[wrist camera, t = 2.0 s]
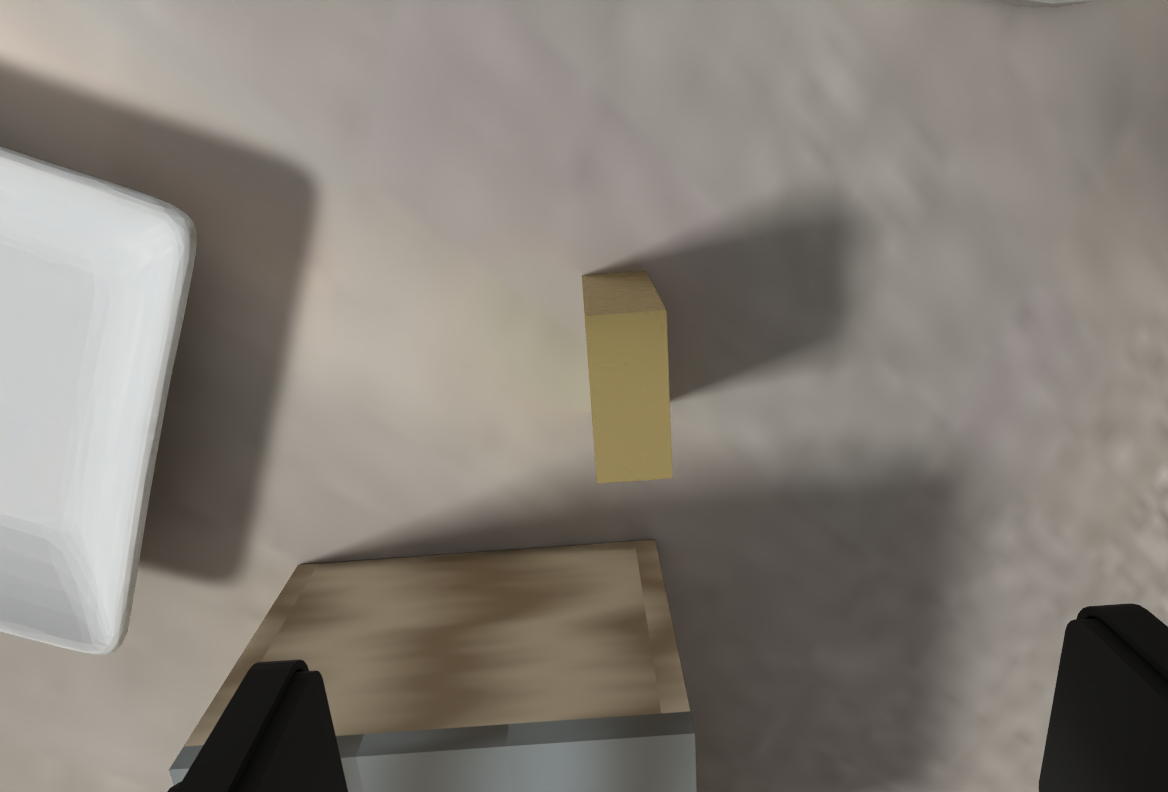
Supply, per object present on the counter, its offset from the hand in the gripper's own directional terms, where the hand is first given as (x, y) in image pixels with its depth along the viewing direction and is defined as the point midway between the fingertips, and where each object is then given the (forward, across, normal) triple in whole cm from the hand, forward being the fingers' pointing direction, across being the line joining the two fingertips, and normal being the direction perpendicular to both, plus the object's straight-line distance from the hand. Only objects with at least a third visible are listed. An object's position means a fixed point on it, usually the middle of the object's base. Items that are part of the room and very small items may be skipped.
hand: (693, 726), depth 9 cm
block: (+18, 0, 0) cm, 18 cm away
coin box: (+18, +6, +16) cm, 25 cm away
